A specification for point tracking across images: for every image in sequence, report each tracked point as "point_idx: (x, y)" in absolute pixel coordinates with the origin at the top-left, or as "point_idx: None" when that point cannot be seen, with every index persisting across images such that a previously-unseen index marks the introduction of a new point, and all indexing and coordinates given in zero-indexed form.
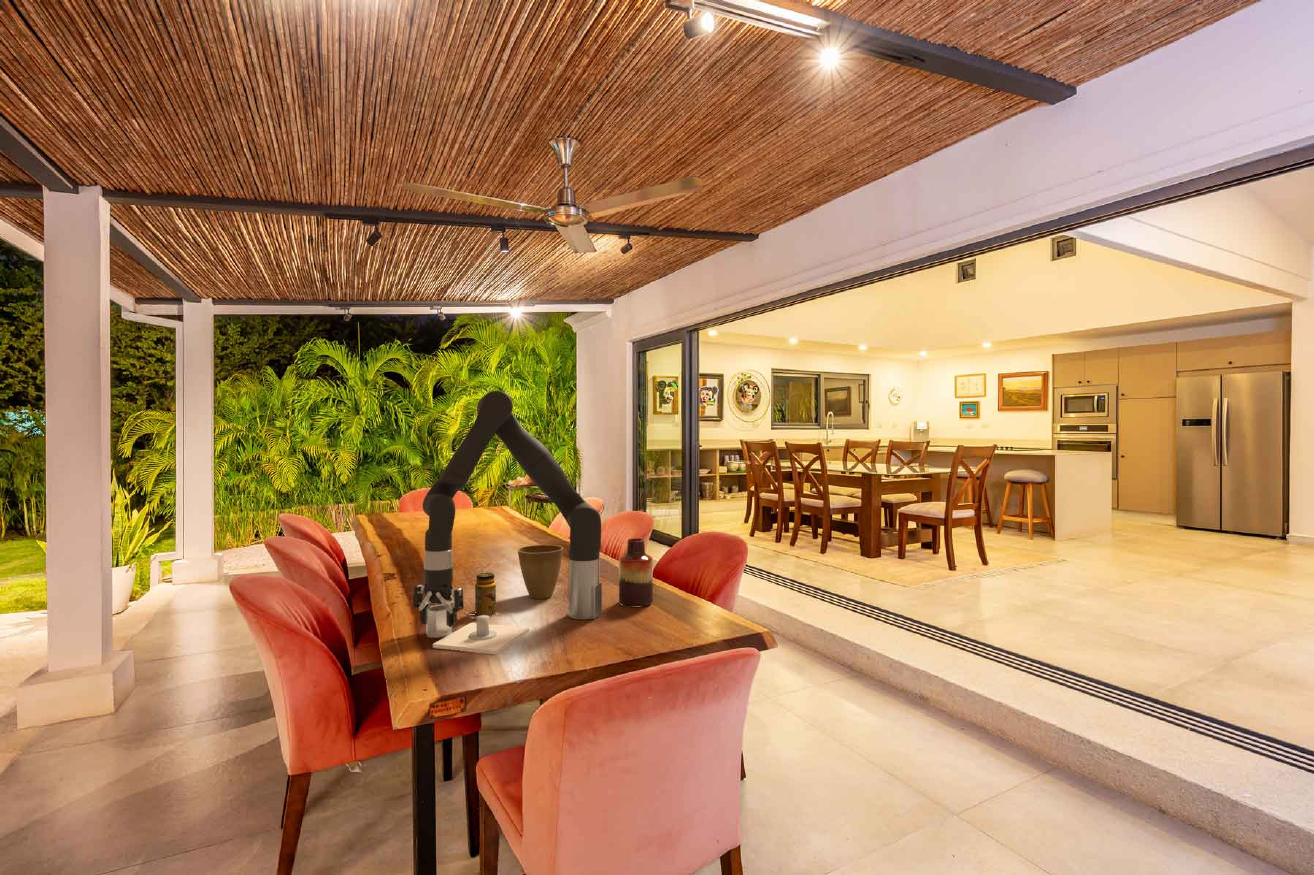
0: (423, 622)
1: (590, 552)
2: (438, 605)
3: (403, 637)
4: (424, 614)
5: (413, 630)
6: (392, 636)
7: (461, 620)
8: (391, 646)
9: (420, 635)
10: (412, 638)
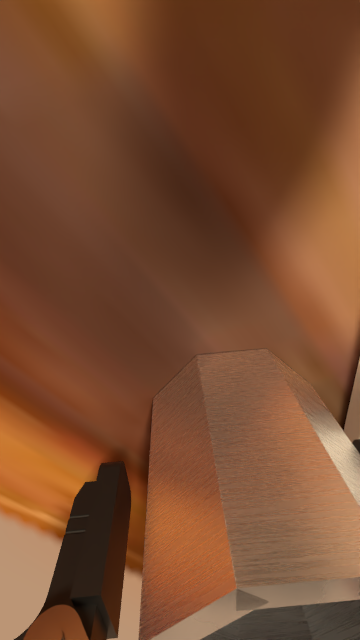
0: (129, 512)
1: None
2: (218, 619)
3: None
4: (120, 581)
5: (29, 425)
6: (19, 514)
7: (202, 57)
8: (134, 573)
9: (145, 465)
10: (141, 501)
